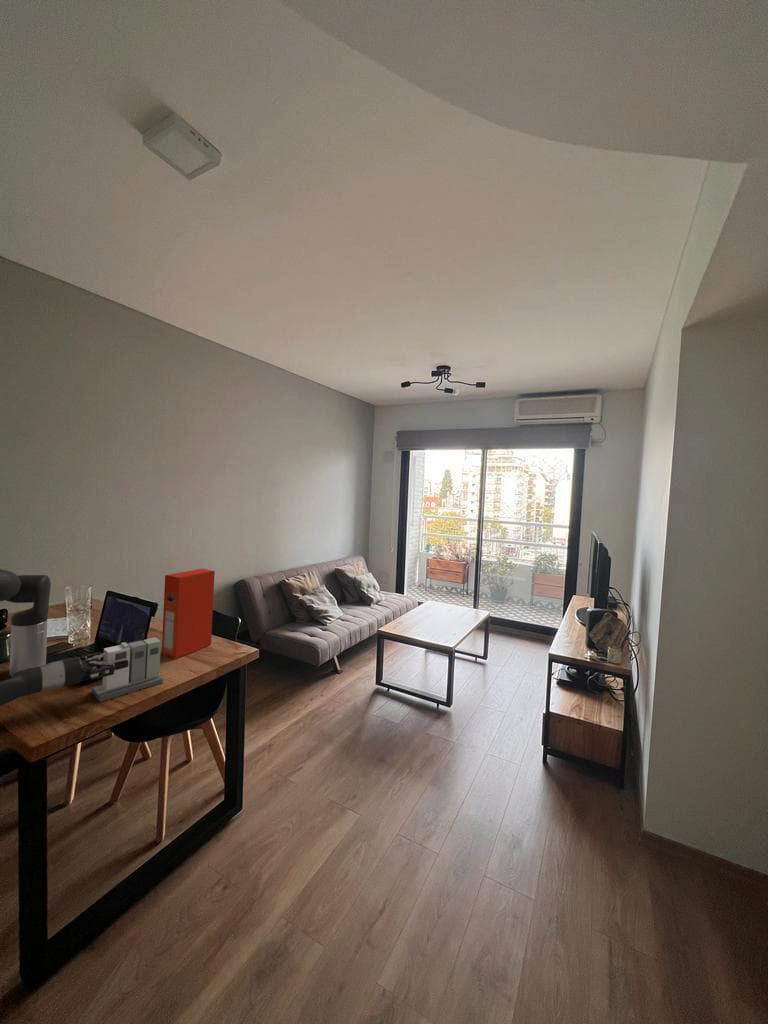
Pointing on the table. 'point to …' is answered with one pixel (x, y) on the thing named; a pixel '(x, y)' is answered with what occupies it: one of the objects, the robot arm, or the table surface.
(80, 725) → the table surface
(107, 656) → the block
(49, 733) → the table surface
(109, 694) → the board
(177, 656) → the file binder
